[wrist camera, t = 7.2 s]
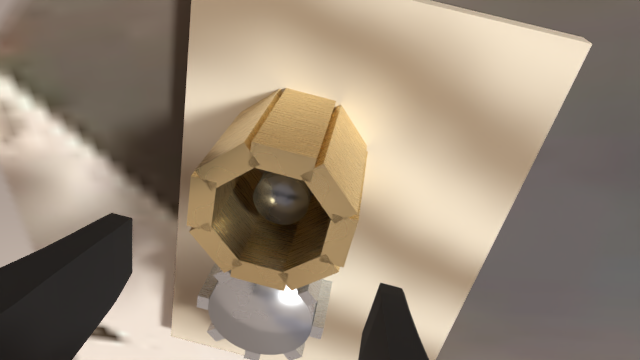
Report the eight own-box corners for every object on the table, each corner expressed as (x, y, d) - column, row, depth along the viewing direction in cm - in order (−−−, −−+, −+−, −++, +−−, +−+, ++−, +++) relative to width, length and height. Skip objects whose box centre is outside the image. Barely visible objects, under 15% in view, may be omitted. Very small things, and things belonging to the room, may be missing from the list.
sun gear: (319, 326, 25) (309, 375, 22) (214, 298, 25) (192, 344, 22) (343, 242, 22) (336, 287, 19) (225, 211, 22) (202, 252, 19)
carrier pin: (320, 172, 21) (302, 230, 17) (277, 161, 21) (249, 216, 18) (330, 132, 20) (313, 184, 16) (284, 120, 20) (257, 170, 16)
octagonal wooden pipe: (345, 224, 21) (331, 304, 17) (226, 192, 21) (183, 263, 17) (379, 112, 19) (373, 173, 14) (242, 76, 19) (195, 126, 14)
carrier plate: (414, 385, 27) (415, 400, 26) (178, 322, 28) (170, 336, 27) (582, 37, 17) (592, 43, 16) (204, -55, 17) (194, -53, 17)
